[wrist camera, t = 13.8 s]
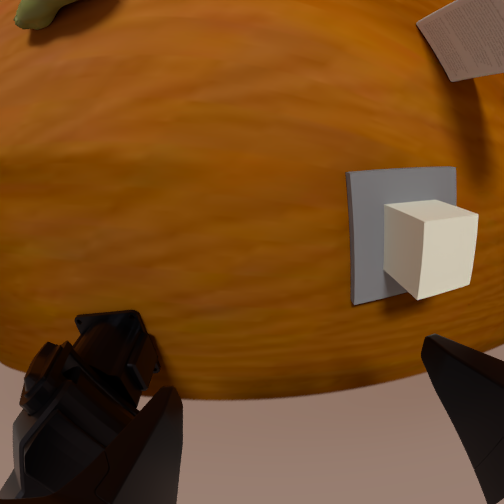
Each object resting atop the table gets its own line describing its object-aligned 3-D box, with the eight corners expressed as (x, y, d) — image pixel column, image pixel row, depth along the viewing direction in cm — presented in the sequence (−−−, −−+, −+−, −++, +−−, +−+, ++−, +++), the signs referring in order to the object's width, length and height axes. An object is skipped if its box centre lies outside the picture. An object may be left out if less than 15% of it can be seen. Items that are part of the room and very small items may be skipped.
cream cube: (383, 269, 20) (417, 300, 15) (384, 204, 18) (424, 221, 13) (432, 259, 20) (469, 284, 15) (435, 199, 18) (478, 214, 14)
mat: (350, 300, 22) (354, 305, 21) (345, 172, 18) (349, 173, 17) (444, 276, 21) (449, 280, 21) (449, 166, 18) (455, 167, 17)
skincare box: (472, 72, 15) (570, 61, 4) (449, 83, 16) (559, 70, 4) (439, 15, 13) (527, -21, 2) (412, 22, 14) (508, -25, 3)
